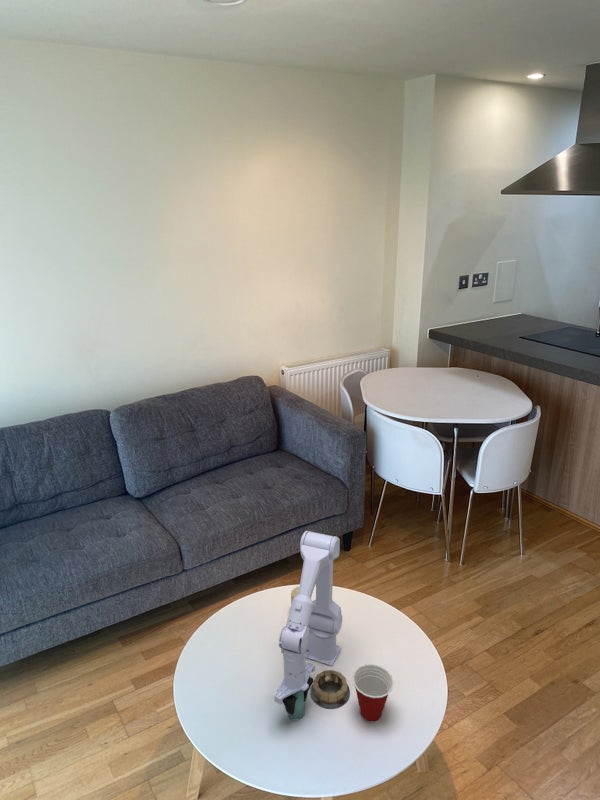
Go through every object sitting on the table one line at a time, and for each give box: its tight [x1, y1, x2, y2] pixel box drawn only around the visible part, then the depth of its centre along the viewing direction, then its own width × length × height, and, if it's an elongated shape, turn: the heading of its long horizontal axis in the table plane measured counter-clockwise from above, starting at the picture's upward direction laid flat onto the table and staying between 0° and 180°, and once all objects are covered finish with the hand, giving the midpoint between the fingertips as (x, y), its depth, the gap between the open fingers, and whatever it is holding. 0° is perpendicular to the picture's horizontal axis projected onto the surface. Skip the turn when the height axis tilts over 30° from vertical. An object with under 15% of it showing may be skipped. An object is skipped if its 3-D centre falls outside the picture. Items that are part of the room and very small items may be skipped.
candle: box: [290, 586, 300, 605], centre depth 195 cm, size 6×6×10 cm
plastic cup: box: [352, 663, 395, 723], centre depth 157 cm, size 11×11×12 cm
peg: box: [287, 690, 305, 721], centre depth 158 cm, size 4×4×8 cm
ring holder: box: [310, 669, 351, 710], centre depth 165 cm, size 11×11×3 cm
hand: (295, 706), depth 159 cm, fingers closed on peg, 4 cm apart
